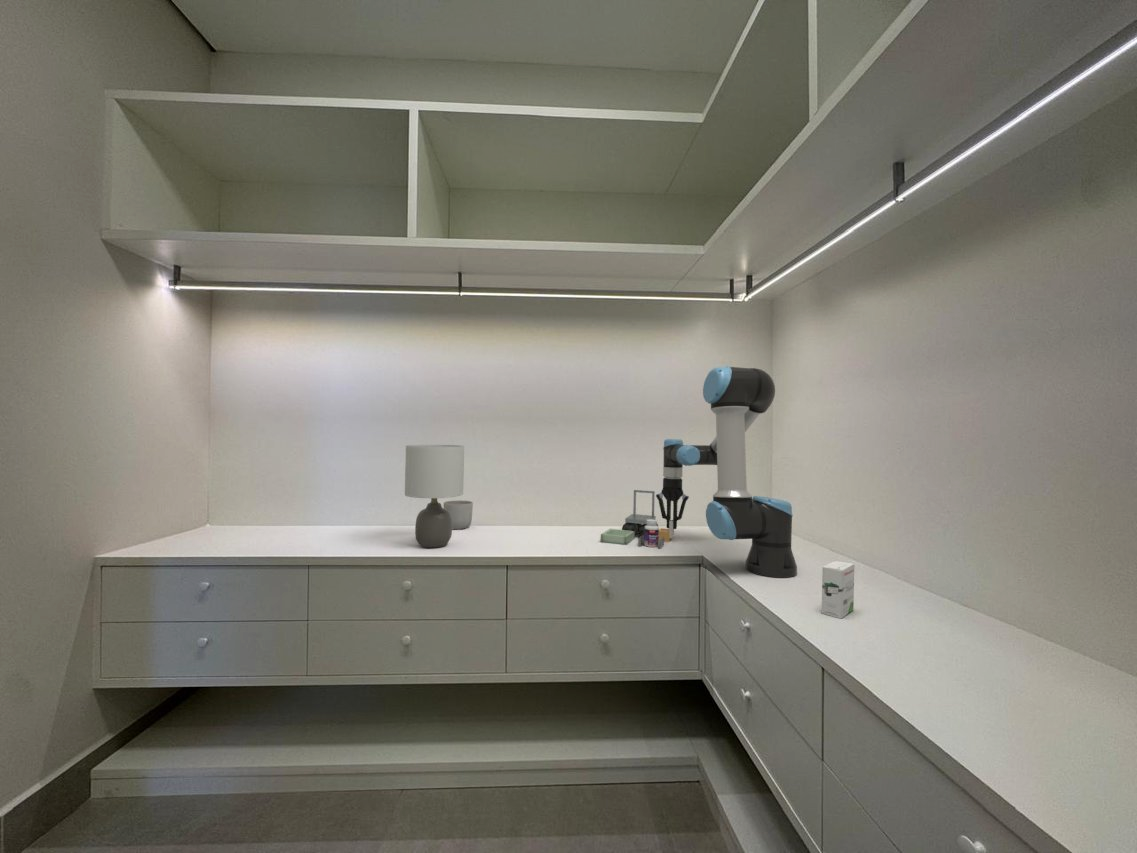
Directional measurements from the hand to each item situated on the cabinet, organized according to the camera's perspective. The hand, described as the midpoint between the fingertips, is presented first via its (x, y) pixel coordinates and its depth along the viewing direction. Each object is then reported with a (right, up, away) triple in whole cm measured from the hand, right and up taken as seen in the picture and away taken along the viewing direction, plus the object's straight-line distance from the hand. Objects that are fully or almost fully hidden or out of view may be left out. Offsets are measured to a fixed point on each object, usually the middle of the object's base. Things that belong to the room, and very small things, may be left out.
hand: (671, 536), depth 199 cm
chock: (-3, -2, +1) cm, 3 cm away
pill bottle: (-10, -2, -9) cm, 13 cm away
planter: (-89, 0, +17) cm, 91 cm away
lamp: (-91, 0, -16) cm, 92 cm away
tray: (-22, -1, -1) cm, 22 cm away
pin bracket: (-10, -1, -9) cm, 13 cm away
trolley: (-11, -1, +8) cm, 14 cm away
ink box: (+26, -2, -76) cm, 80 cm away
